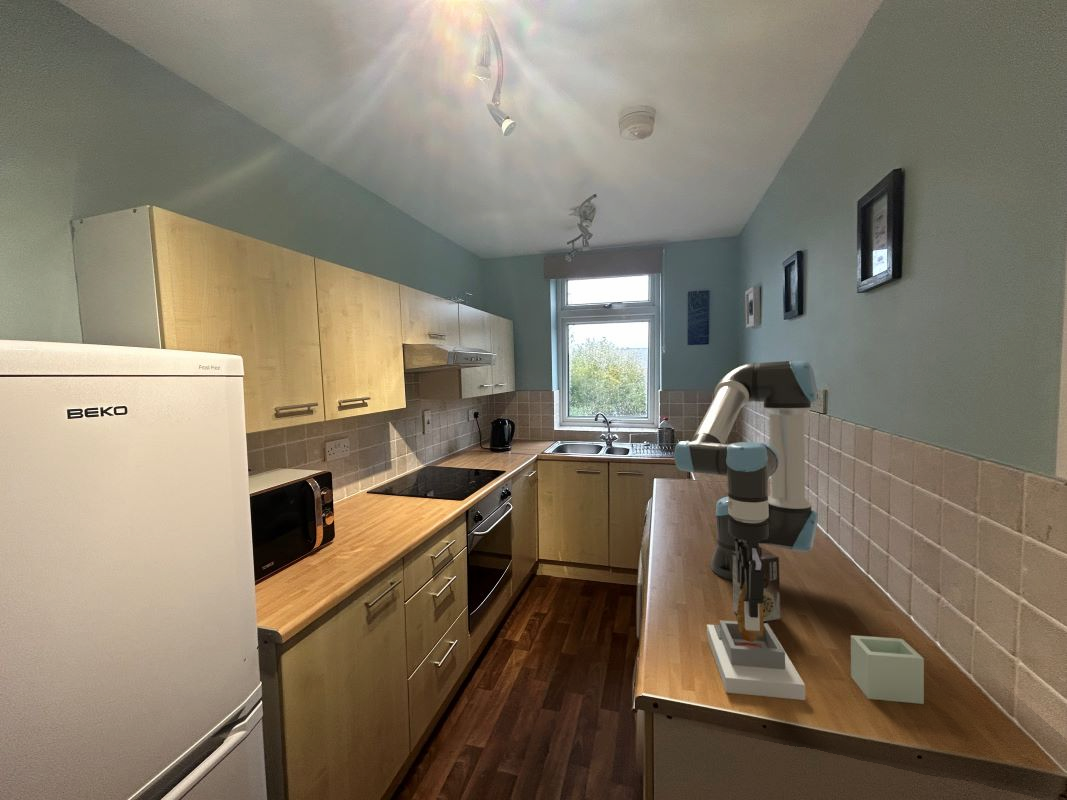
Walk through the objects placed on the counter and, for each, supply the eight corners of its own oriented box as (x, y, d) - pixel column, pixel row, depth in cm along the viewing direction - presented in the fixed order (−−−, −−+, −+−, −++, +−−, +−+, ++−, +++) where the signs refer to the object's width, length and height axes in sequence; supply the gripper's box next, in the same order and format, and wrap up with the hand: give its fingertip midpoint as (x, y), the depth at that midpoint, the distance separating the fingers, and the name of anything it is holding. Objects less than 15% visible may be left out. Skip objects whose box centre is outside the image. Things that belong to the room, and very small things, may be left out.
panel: (707, 636, 100) (706, 610, 100) (771, 641, 98) (771, 614, 97) (726, 692, 83) (725, 660, 82) (805, 700, 80) (804, 666, 80)
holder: (851, 676, 86) (850, 635, 85) (902, 680, 84) (902, 638, 83) (868, 698, 80) (868, 654, 79) (923, 703, 78) (923, 658, 77)
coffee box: (763, 606, 112) (762, 546, 112) (781, 619, 106) (780, 556, 105) (732, 610, 111) (730, 550, 110) (748, 624, 104) (747, 560, 104)
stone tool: (760, 638, 91) (761, 572, 90) (764, 645, 89) (765, 578, 87) (735, 636, 92) (735, 571, 90) (739, 644, 90) (739, 577, 88)
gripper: (720, 505, 97) (722, 605, 98) (738, 530, 82) (741, 646, 83) (755, 506, 95) (757, 607, 97) (781, 531, 81) (783, 649, 82)
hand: (750, 625), depth 90 cm, fingers closed on stone tool, 2 cm apart
